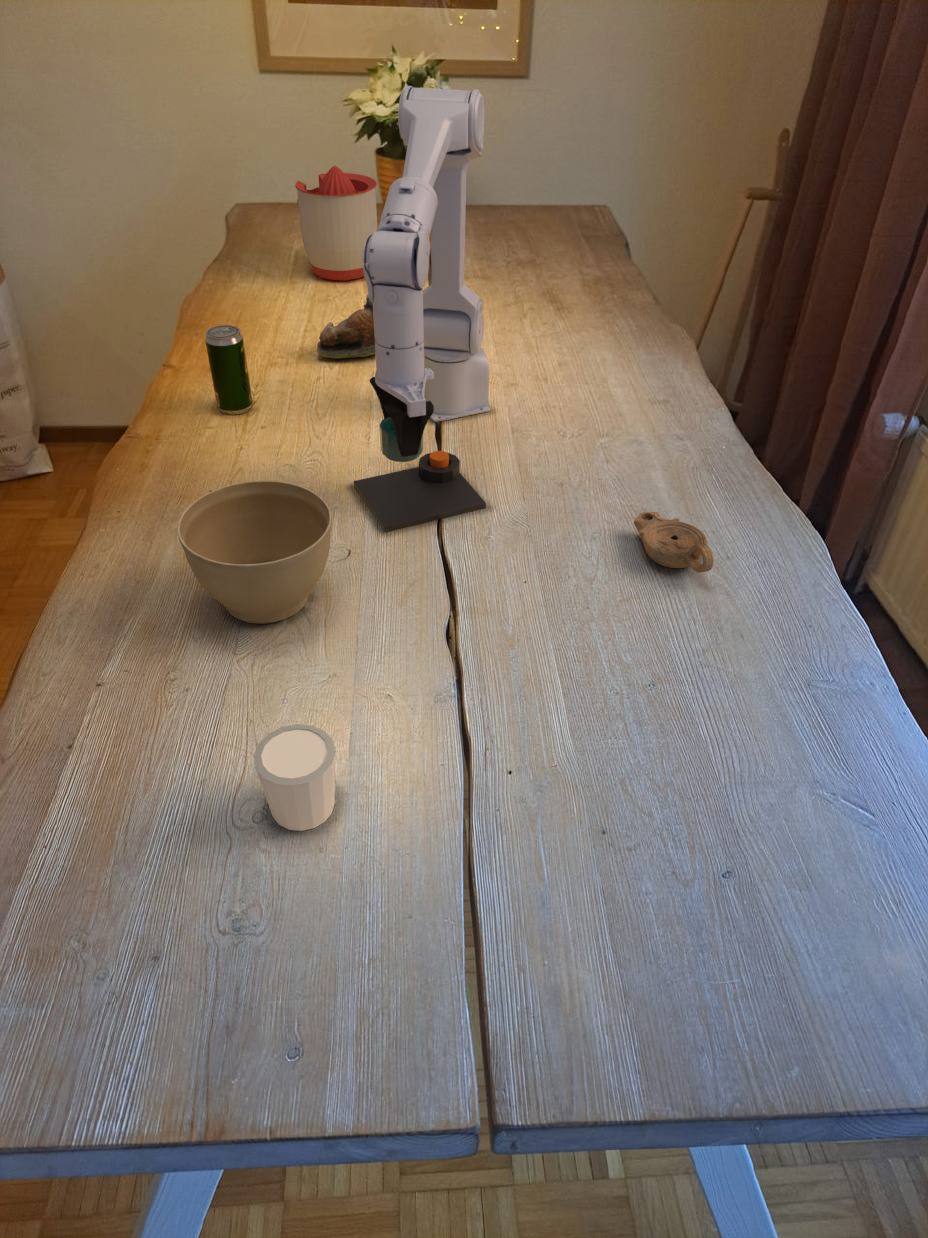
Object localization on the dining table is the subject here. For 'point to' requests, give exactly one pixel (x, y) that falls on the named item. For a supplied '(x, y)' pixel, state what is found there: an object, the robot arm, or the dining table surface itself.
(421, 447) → the teal cup
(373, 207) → the citrus juicer
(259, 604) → the planter bowl
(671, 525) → the oil lamp
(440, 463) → the button
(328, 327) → the bison figurine
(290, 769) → the beige cylinder
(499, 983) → the dining table surface
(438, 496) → the scale
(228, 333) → the beer can
